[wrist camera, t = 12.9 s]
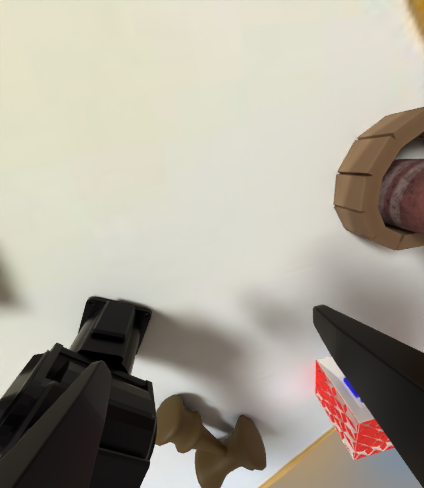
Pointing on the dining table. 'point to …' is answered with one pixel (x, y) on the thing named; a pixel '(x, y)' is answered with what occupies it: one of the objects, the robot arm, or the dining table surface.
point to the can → (403, 195)
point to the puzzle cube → (348, 411)
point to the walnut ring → (375, 179)
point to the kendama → (209, 443)
